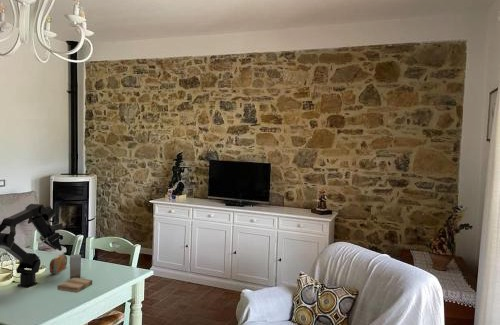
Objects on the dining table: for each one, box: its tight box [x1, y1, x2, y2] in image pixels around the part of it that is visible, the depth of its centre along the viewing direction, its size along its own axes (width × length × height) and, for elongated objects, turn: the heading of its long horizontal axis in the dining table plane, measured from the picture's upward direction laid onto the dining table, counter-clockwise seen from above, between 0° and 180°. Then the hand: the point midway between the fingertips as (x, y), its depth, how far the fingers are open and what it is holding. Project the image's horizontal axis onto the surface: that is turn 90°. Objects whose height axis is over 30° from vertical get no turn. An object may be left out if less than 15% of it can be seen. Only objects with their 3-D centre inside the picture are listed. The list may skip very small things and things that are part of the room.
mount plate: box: [57, 277, 93, 293], centre depth 195 cm, size 12×11×2 cm
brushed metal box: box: [69, 253, 82, 280], centre depth 205 cm, size 5×5×12 cm
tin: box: [49, 254, 68, 275], centre depth 215 cm, size 15×3×8 cm, turn 179°
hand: (58, 249), depth 204 cm, fingers open, 9 cm apart
